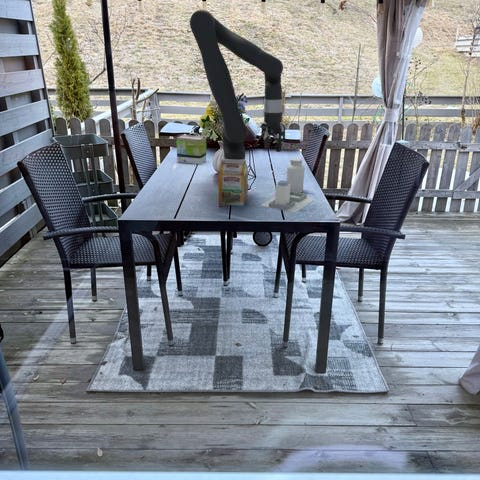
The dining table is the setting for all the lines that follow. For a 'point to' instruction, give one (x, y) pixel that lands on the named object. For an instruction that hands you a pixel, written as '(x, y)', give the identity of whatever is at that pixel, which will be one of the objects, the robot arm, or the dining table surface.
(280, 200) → the plug
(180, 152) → the tea box
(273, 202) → the panel
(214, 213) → the dining table surface
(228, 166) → the milk carton
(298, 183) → the pill bottle
